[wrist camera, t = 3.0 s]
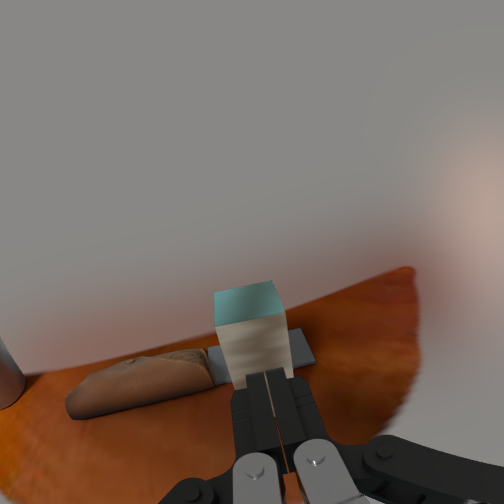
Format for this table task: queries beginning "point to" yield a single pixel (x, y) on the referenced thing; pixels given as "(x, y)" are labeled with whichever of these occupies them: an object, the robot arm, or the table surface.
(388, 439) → the robot arm
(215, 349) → the rubber mat
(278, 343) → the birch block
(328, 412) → the table surface
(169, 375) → the sunglasses case
